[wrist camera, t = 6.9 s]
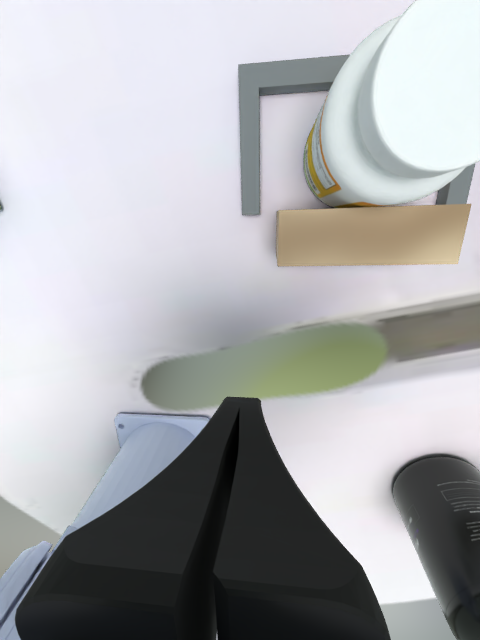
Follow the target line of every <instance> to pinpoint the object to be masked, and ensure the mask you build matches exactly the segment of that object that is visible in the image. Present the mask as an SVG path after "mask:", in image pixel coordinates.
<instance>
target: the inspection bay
mask: <svg viewBox="0 0 480 640" xmlns="http://www.w3.org/2000/svg"><path fill="white" fill-rule="evenodd" d="M349 56H350V55H340V56H329V57H318V58H307V59H295V60H284V61H273V62H262V63H250V64H239V65H238V70H239V110H240V149H241V189H242V215H260V108H259V96H260V95H273V94H286V93H299V92H312V91H325V90H330V88H331V86H332V84H333V82H334V80H335V78H336V76H337V74H338V73H339V71H340V69H341V68H342V66H343V65H344V63H345V61H346V60H347V59H348V57H349ZM474 167H475V163H474V164H472V165H470V166H467V167H466V168H465V169H464V170H463V171H462V172H461V173H460V174H459V175H458V176H457V177H456V178H454V179H453V180H452V181H451V182H449V183H448V184H447V185H445V186H444V187H443V188H441V189H439V192H438V197H437V202H436V205H451V204H466V203H467V198H468V194H469V189H470V185H471V181H472V176H473V172H474Z"/></svg>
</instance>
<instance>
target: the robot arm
mask: <svg viewBox="0 0 480 640" xmlns="http://www.w3.org/2000/svg"><path fill="white" fill-rule="evenodd" d="M114 421H115V426H116V430H117V435H118V439H119V444H120V451H119V452H118V454H117V455H116V457H115V458H114V460H113V462H112V463H111V465H110V466H109V468H108V469H107V471H106V472H105V474H104V475H103V477H102V479H101V480H100V482H99V483H98V485H97V486H96V488H95V489H94V491H93V493H92V494H91V496H90V497H89V499H88V500H87V502H86V503H85V505H84V506H83V508H82V510H81V511H80V513H79V514H78V516H77V517H76V519H75V520H74V522H73V523H72V525H71V526H68V527H67V529H66V530H65V532H64V533H63V535H62V536H61V538H60V540H59V541H58V543H57V544H56V546H55V547H54V549H53V550H52V552H51V553H50V552H49V550H50V548H51V547H52V544H51V543H48V542H46V541H42V542H40V543H39V544H38V545H37V546H33V547H30V548H28V549H26V550H24V551H23V552H22V553H21V554H20V555H19V557H17V559H16V560H15V561H14V562H13V563H12V565H11V566H10V567H9V568H8V570H7V571H6V572H5V573H4V575H3V576H2V577H1V579H0V640H216V634H218V640H391V639H390V635H389V631H388V628H387V625H386V622H385V619H384V616H383V613H382V611H381V608H380V606H379V603H378V600H377V598H376V596H375V593H374V591H373V589H372V586H371V584H370V582H369V580H368V578H367V576H366V574H365V572H364V570H363V568H362V566H361V565H360V563H359V562H358V561H357V560H356V559H355V558H354V557H353V556H352V555H351V554H350V553H349V551H348V550H347V549H346V548H345V547H344V546H343V545H342V544H341V542H340V541H339V540H338V539H337V538H336V537H335V535H334V534H333V533H332V532H331V531H330V529H329V528H328V527H327V526H326V524H325V523H324V522H323V521H322V520H321V518H320V517H319V516H318V514H317V513H316V512H315V510H314V509H313V507H312V506H311V505H310V503H309V502H308V501H307V499H306V498H305V496H304V495H303V494H302V492H301V491H300V489H299V488H298V486H297V485H296V483H295V482H294V480H293V478H292V477H291V475H290V473H289V472H288V470H287V468H286V467H285V465H284V463H283V461H282V459H281V457H280V455H279V453H278V451H277V449H276V447H275V445H274V443H273V441H272V438H271V436H270V433H269V431H268V428H267V426H266V423H265V420H264V416H263V413H262V408H261V401H260V400H259V399H258V398H244V397H226V398H225V399H224V400H223V402H222V404H221V405H220V407H219V408H218V410H217V411H216V412H215V414H214V415H213V417H212V418H211V419H210V420H209V419H208V418H206V417H188V416H165V415H142V414H118V415H117V416H116V417H115V419H114ZM121 424H122V425H121ZM123 425H124V426H123Z"/></svg>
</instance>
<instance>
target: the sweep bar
mask: <svg viewBox="0 0 480 640" xmlns="http://www.w3.org/2000/svg"><path fill="white" fill-rule="evenodd" d="M470 208H471V204H451V205H422V206H392V207H362V208H333V209H303V210H279V211H277V226H276V257H277V264H278V266H341V265H417V264H458V260H459V256H460V252H461V247H462V243H463V239H464V234H465V230H466V226H467V221H468V217H469V212H470Z"/></svg>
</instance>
